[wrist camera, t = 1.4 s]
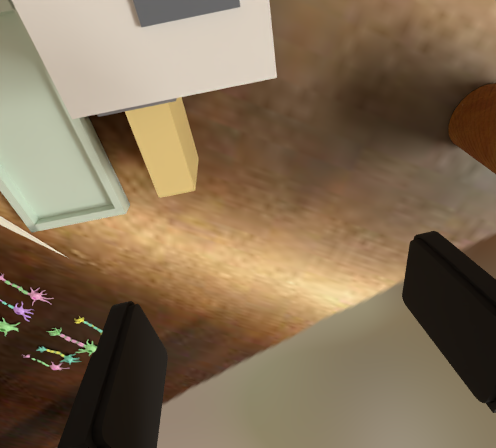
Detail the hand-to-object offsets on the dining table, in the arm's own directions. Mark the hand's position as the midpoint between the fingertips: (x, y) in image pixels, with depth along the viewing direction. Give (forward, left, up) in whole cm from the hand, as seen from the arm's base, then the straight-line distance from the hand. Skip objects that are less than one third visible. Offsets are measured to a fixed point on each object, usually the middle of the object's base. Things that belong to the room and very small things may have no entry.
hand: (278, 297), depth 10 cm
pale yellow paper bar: (-4, -6, -22) cm, 23 cm away
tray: (-3, -18, -21) cm, 28 cm away
